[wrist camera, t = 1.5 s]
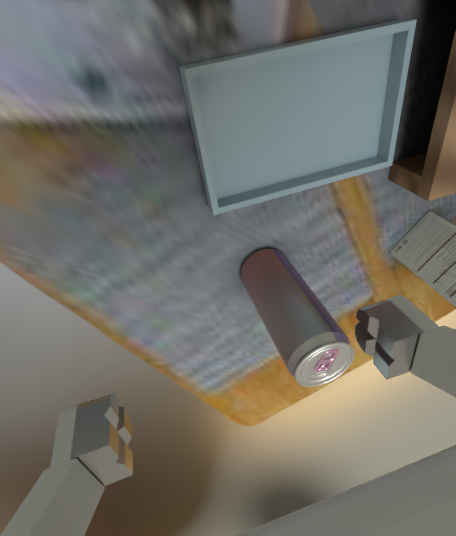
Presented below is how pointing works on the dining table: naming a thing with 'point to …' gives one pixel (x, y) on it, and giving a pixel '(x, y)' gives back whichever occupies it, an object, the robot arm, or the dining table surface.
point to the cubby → (434, 148)
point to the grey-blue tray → (297, 112)
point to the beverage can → (296, 319)
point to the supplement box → (431, 254)
